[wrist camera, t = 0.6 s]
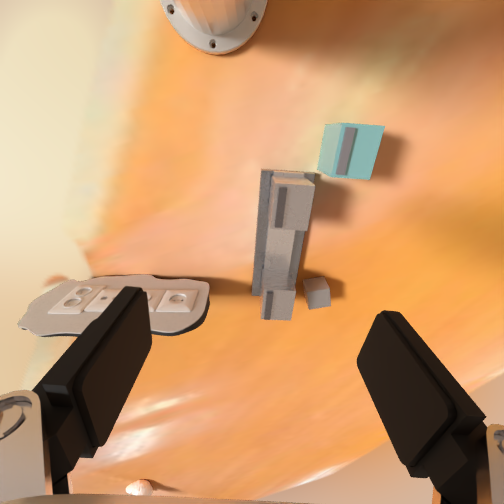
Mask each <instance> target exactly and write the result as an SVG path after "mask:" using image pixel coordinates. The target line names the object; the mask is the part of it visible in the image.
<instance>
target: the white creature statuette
mask: <svg viewBox="0 0 504 504" xmlns="http://www.w3.org/2000/svg"><path fill="white" fill-rule="evenodd" d="M126 492H127V493H129V494H131V493H132V495H146V496H151V494H152V493H153V488H152V485H151V484H150V482H149V481H148V480H143V479H142V480H137V481H135V482H133V483H131V484H129V485H128V486H127V487H126Z"/></svg>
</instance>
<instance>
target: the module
mask: <svg viewBox="0 0 504 504" xmlns="http://www.w3.org/2000/svg"><path fill="white" fill-rule="evenodd" d="M384 128H385V126H378V125H364V124H351V123H336V124H326V125H325V128H324V134H323V139H322V145H321V150H320V156H319V162H318V167H317V170H319V171H321V172H323V173H324V174H326V175H328V176H330V177H337V178H352V179H367V180H370V177H371V174H372V170H373V166H374V163H375V159H376V156H377V152H378V149H379V145H380V142H381V138H382V135H383V131H384Z"/></svg>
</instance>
